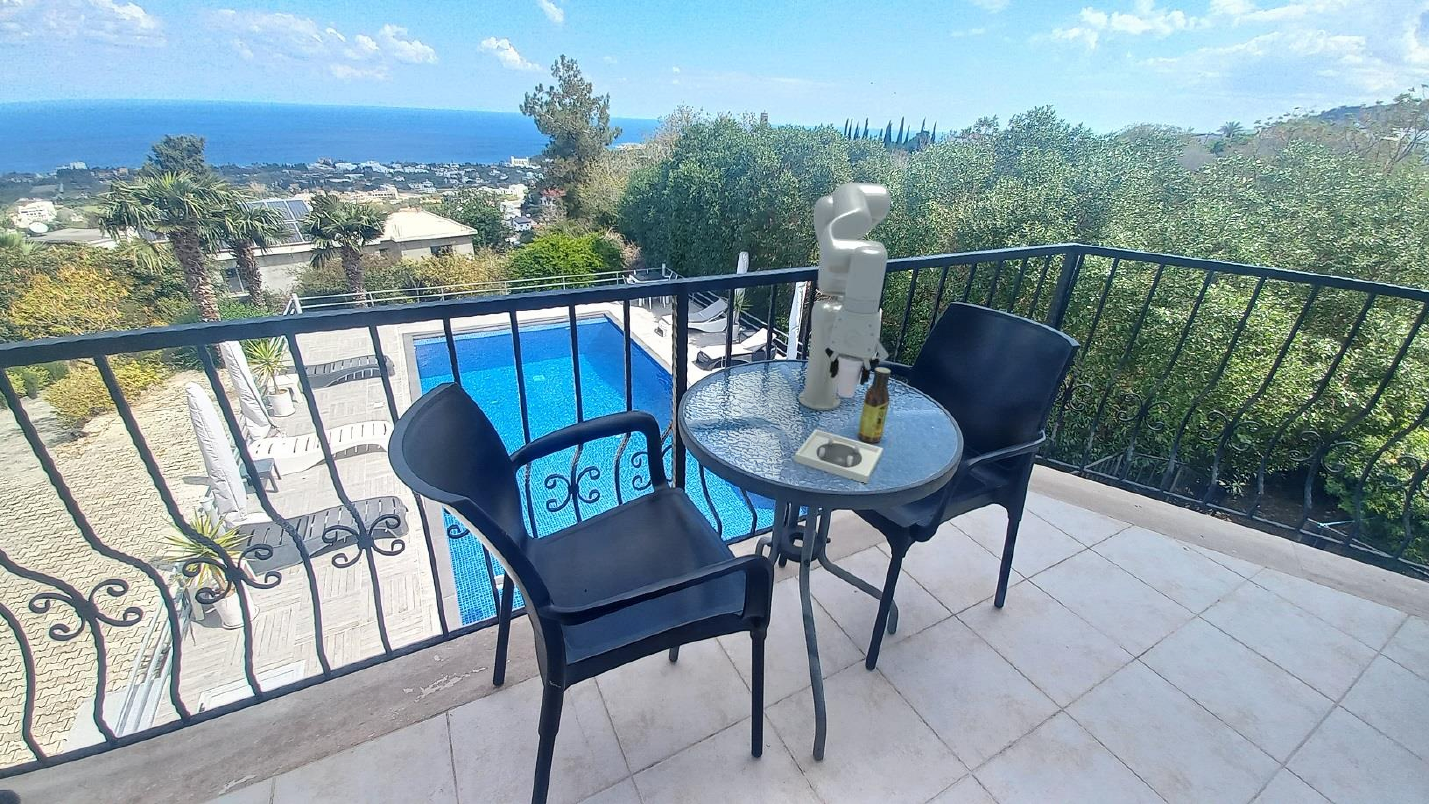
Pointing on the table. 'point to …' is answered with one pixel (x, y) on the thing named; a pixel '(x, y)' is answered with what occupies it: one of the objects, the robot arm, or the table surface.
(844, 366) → the smoothie
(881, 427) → the sauce bottle
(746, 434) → the table surface
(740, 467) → the table surface
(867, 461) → the pin tray
